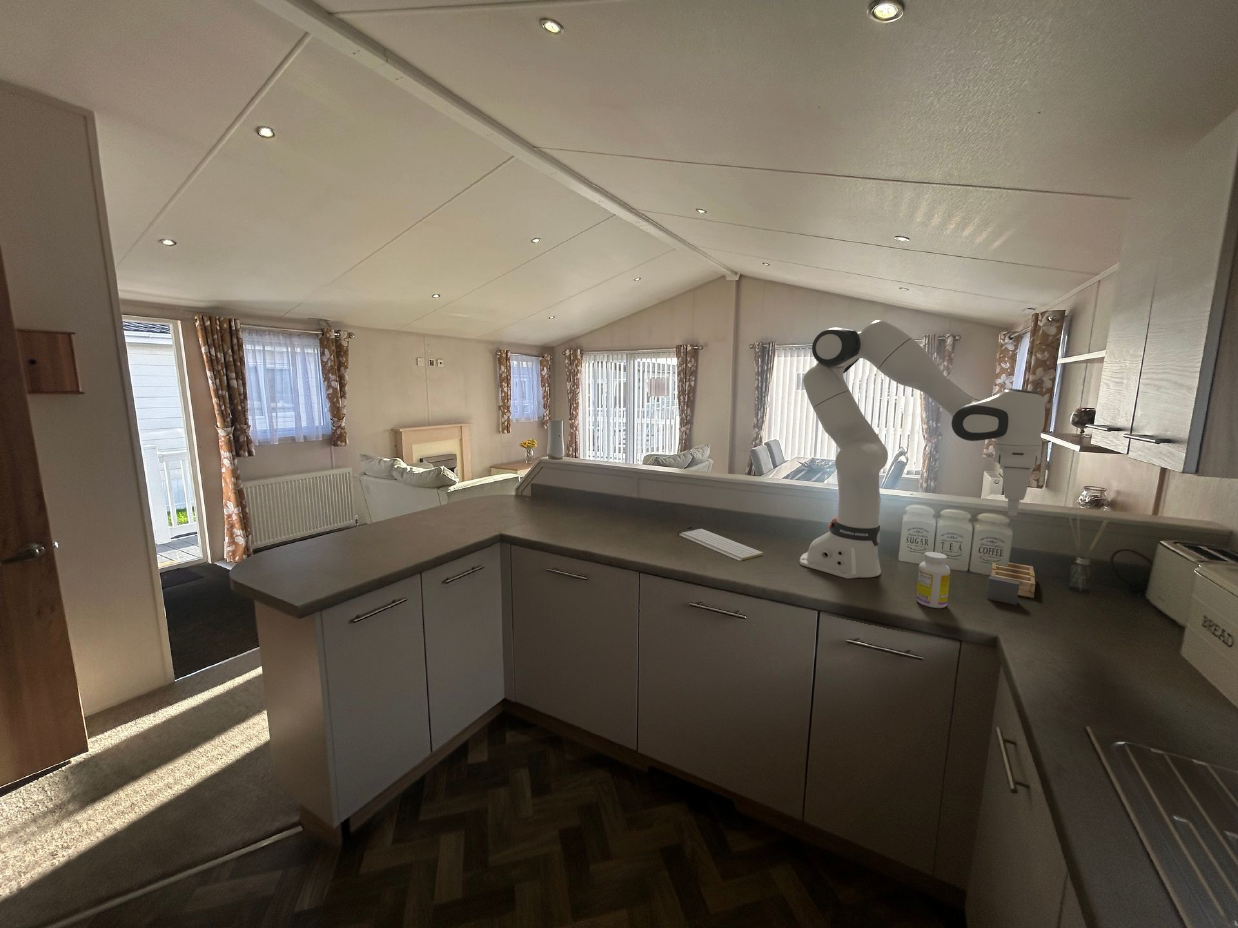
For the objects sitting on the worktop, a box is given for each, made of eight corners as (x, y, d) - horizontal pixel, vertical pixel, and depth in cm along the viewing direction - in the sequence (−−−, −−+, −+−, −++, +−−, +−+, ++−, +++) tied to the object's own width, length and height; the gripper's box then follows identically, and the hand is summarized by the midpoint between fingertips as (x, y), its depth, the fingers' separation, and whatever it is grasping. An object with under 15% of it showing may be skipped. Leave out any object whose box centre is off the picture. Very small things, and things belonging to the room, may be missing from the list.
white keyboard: (735, 563, 153) (762, 556, 159) (736, 555, 152) (763, 548, 158) (675, 537, 179) (701, 532, 185) (676, 529, 178) (701, 525, 184)
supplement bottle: (944, 600, 125) (950, 552, 123) (948, 611, 119) (954, 561, 117) (914, 595, 128) (919, 548, 125) (916, 605, 122) (921, 557, 120)
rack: (989, 588, 131) (991, 575, 131) (991, 568, 145) (993, 556, 145) (1033, 597, 126) (1035, 584, 125) (1031, 576, 140) (1033, 563, 139)
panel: (986, 598, 126) (989, 578, 125) (987, 595, 127) (989, 575, 127) (1016, 605, 122) (1019, 584, 121) (1016, 601, 124) (1019, 581, 123)
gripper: (1001, 450, 129) (996, 501, 131) (1000, 460, 113) (995, 517, 115) (1032, 451, 125) (1027, 504, 127) (1035, 461, 109) (1030, 521, 111)
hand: (1012, 510), depth 121 cm, fingers open, 8 cm apart
